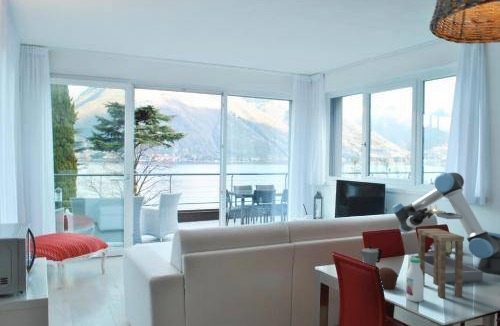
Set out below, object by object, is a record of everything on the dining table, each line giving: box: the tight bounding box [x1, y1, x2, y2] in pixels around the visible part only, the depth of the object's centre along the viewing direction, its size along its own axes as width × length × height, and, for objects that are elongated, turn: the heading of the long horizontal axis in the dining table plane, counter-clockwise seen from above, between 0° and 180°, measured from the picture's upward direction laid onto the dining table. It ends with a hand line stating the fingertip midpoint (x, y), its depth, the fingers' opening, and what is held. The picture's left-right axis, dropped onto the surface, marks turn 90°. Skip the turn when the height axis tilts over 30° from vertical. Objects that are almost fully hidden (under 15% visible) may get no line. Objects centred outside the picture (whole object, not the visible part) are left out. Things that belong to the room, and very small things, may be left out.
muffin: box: [378, 267, 399, 291], centre depth 205 cm, size 12×11×10 cm
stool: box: [417, 228, 465, 299], centre depth 200 cm, size 21×12×30 cm, turn 7°
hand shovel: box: [423, 207, 462, 220], centre depth 229 cm, size 29×9×3 cm, turn 7°
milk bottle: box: [405, 257, 425, 303], centre depth 188 cm, size 8×8×20 cm
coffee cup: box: [446, 241, 453, 254], centre depth 281 cm, size 9×9×12 cm
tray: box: [410, 254, 484, 285], centre depth 229 cm, size 35×22×6 cm, turn 7°
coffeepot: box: [360, 244, 383, 267], centre depth 224 cm, size 15×9×18 cm, turn 113°
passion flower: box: [427, 242, 450, 257], centre depth 269 cm, size 11×11×12 cm
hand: (433, 206), depth 235 cm, fingers closed on hand shovel, 3 cm apart
